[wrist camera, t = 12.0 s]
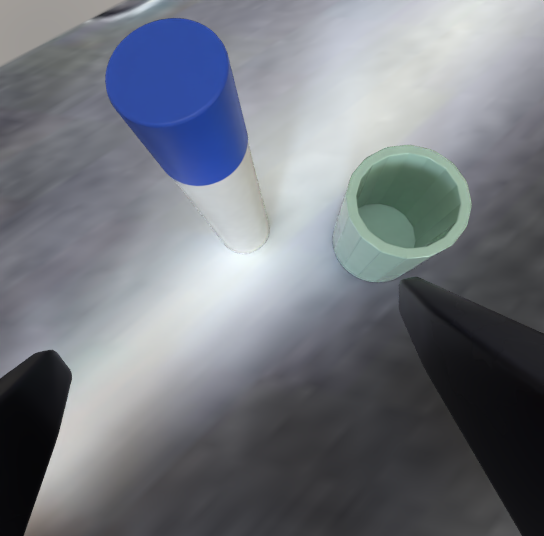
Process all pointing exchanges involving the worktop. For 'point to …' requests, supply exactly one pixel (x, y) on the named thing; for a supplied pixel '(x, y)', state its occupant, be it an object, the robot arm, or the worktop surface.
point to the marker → (191, 123)
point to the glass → (399, 212)
